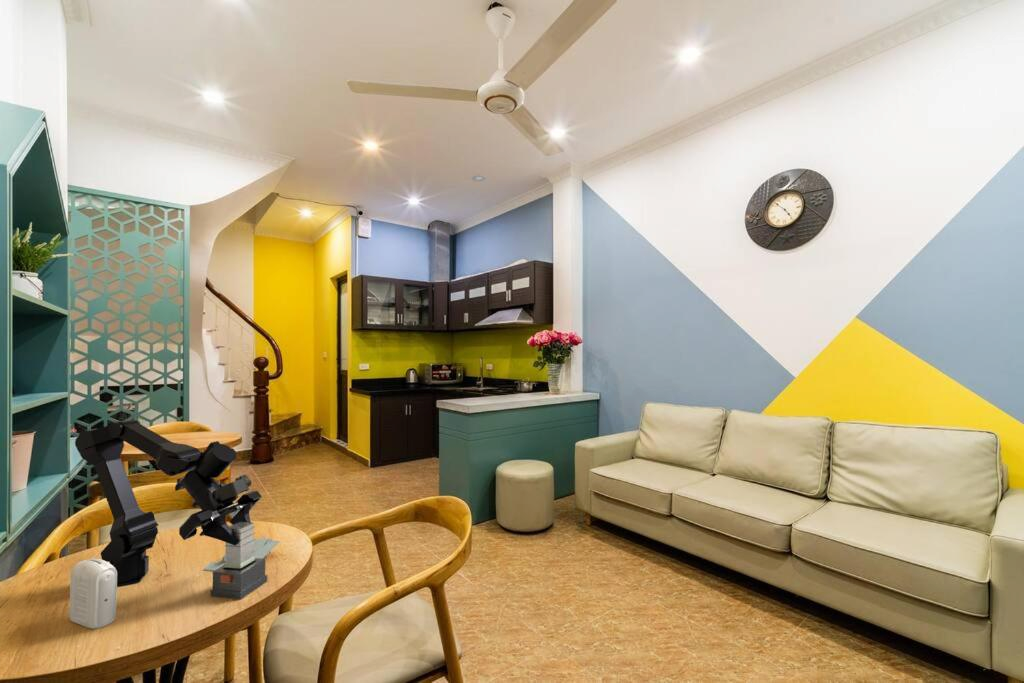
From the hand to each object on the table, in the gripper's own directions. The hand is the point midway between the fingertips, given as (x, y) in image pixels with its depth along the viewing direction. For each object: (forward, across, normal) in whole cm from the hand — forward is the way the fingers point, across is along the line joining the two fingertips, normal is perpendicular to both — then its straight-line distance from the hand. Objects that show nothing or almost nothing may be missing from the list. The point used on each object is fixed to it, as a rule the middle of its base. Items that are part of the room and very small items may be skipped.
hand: (244, 539), depth 102 cm
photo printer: (-7, -16, +24) cm, 29 cm away
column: (+3, 0, +5) cm, 6 cm away
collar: (+7, 0, +9) cm, 11 cm away
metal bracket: (+1, +13, +16) cm, 21 cm away
